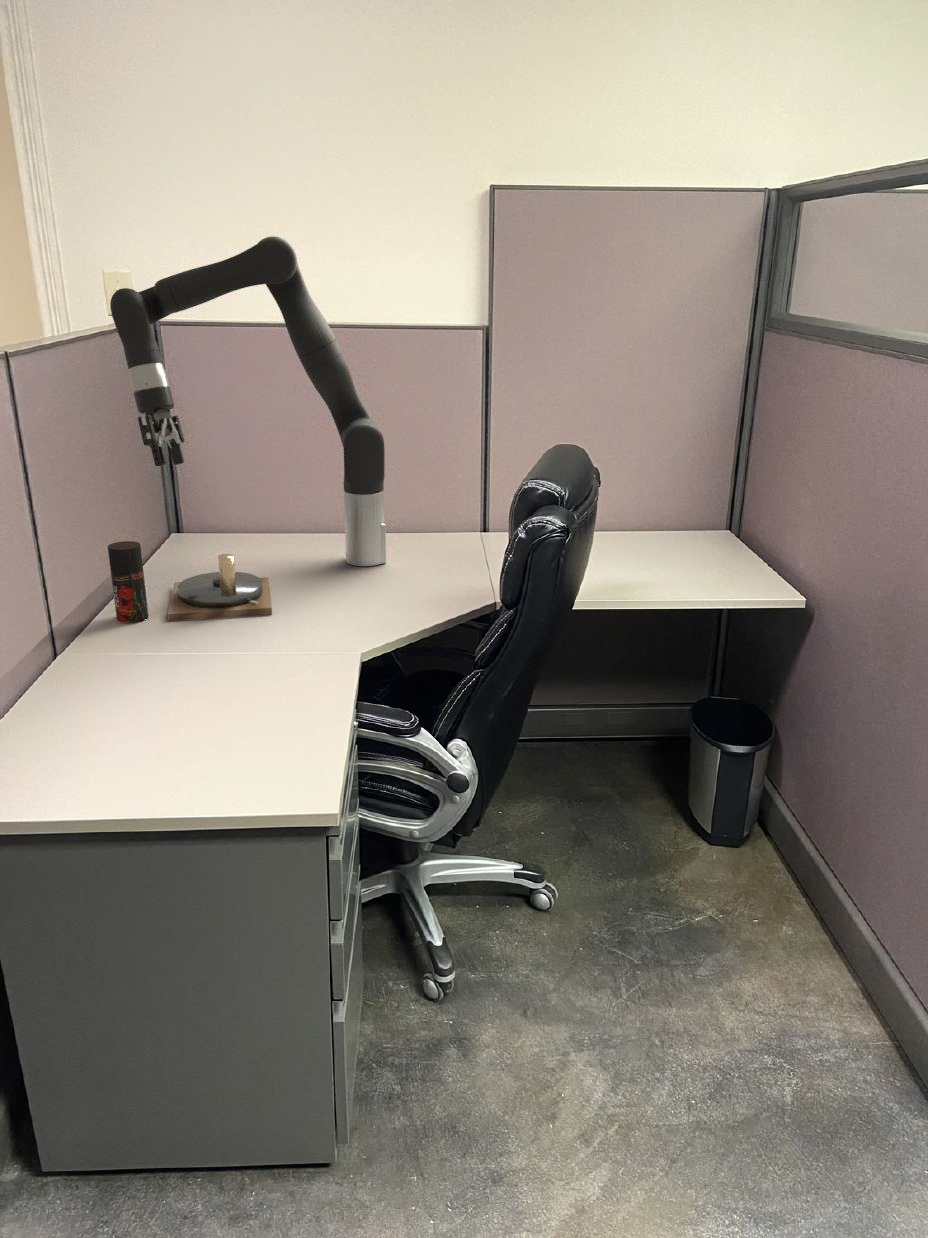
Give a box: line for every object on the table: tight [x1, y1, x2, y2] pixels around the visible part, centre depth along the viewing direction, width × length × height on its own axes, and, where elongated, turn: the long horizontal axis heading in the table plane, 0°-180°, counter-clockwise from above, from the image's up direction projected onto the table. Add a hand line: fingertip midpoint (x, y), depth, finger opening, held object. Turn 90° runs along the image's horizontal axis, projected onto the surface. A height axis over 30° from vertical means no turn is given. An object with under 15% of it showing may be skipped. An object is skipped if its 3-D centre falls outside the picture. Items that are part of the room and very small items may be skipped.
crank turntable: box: [178, 553, 263, 607], centre depth 189 cm, size 17×17×10 cm
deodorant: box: [107, 540, 149, 625], centre depth 179 cm, size 6×6×15 cm
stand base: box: [167, 576, 273, 622], centre depth 191 cm, size 20×20×2 cm
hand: (170, 464), depth 196 cm, fingers open, 8 cm apart
